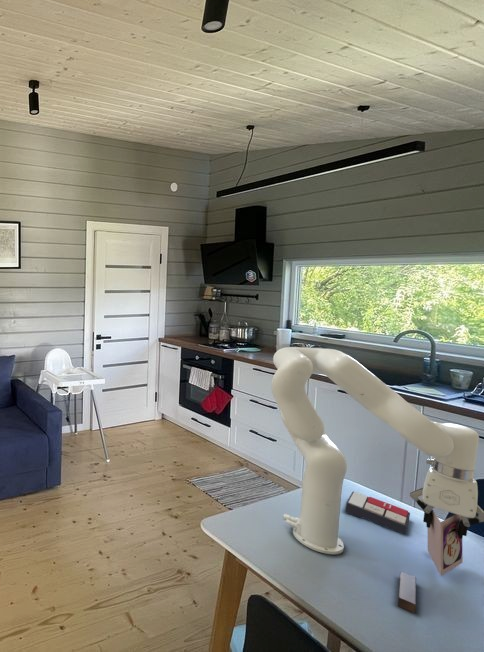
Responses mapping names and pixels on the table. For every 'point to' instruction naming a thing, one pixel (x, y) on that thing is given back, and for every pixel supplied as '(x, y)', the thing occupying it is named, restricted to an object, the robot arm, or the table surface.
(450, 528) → the greeting card
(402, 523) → the calculator
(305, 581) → the table surface
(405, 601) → the walnut bar
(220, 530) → the table surface
